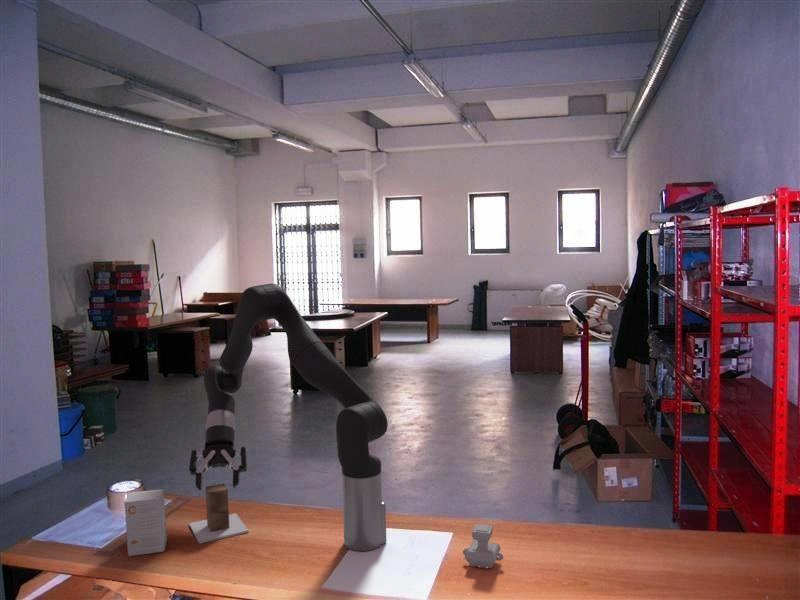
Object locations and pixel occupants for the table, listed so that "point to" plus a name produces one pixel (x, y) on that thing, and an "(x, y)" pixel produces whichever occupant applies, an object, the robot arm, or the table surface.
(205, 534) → the grey mat
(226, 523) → the walnut block
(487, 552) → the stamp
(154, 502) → the small box
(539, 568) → the table surface
